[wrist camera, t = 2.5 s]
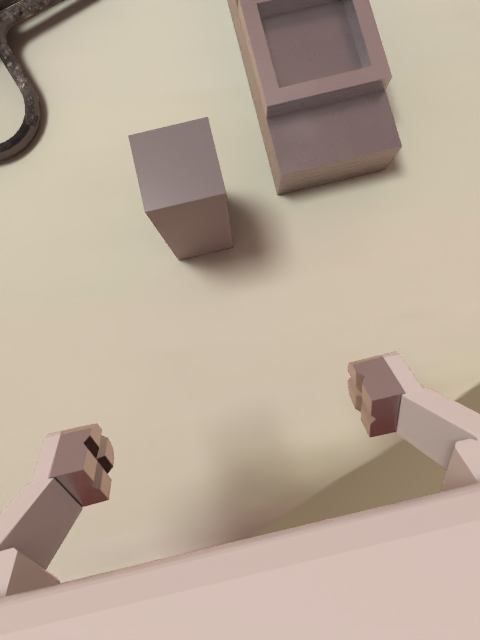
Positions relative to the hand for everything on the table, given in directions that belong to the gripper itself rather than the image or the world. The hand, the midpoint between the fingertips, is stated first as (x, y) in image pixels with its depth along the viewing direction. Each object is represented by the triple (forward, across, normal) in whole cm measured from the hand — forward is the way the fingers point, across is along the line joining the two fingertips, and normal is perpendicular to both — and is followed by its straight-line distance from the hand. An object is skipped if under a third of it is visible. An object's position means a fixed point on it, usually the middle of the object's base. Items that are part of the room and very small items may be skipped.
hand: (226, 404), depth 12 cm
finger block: (+18, 0, -2) cm, 18 cm away
